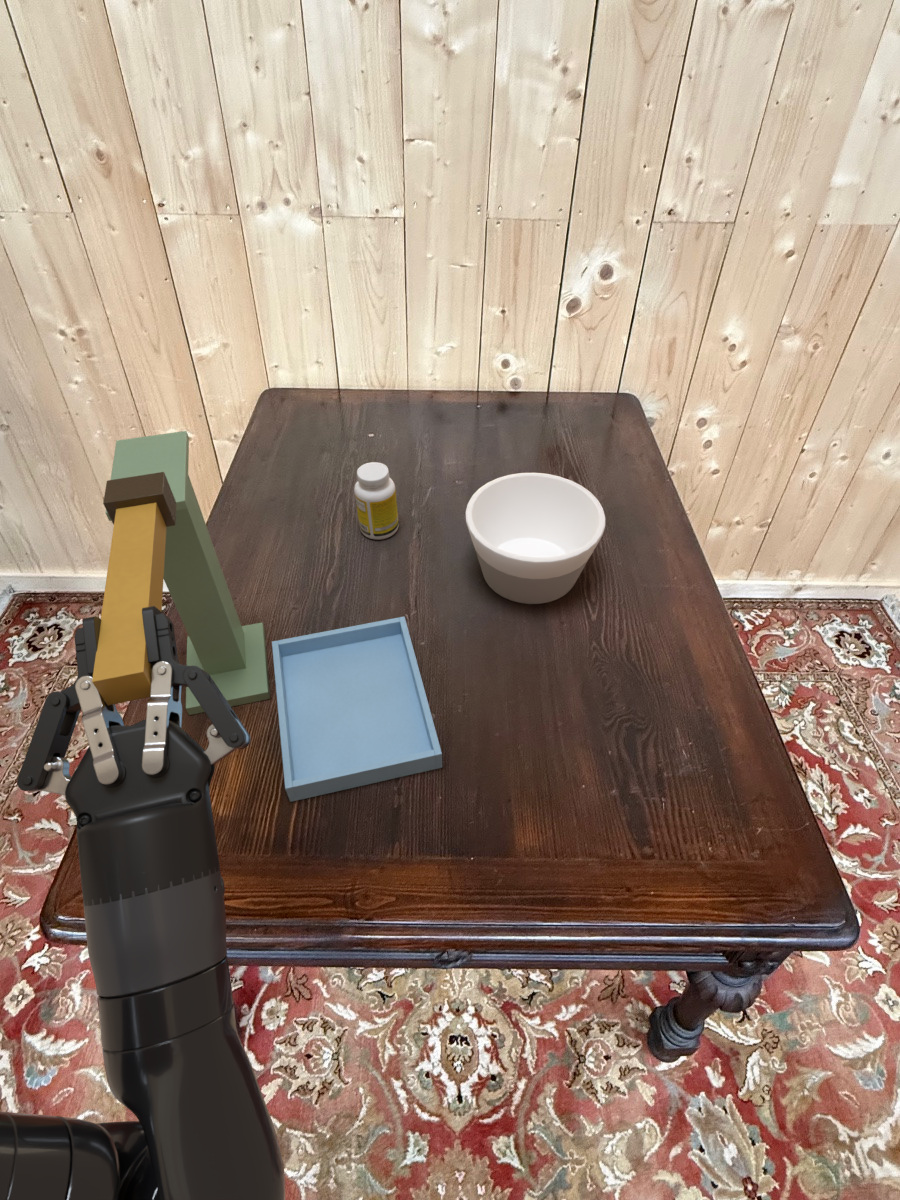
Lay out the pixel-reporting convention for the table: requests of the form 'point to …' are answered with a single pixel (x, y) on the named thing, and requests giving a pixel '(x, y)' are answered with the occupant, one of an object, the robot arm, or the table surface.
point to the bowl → (533, 534)
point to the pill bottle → (376, 501)
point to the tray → (352, 709)
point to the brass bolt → (132, 583)
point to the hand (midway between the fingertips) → (122, 615)
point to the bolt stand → (199, 578)
